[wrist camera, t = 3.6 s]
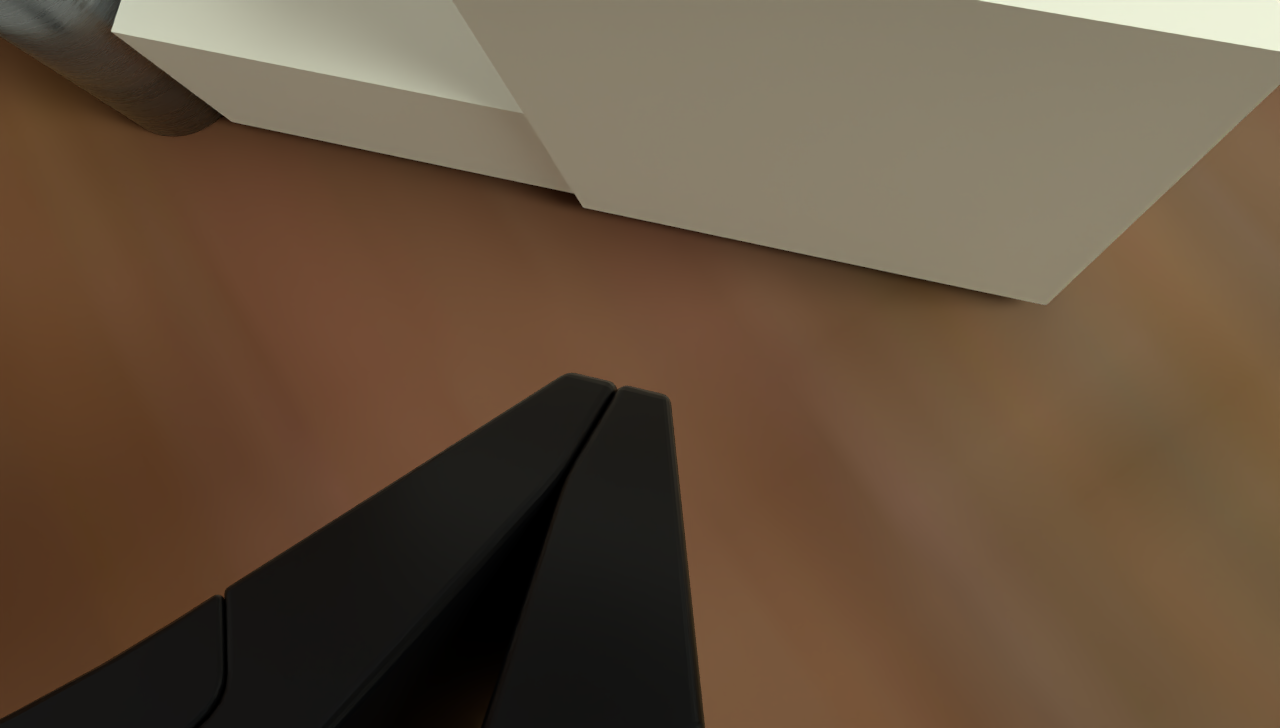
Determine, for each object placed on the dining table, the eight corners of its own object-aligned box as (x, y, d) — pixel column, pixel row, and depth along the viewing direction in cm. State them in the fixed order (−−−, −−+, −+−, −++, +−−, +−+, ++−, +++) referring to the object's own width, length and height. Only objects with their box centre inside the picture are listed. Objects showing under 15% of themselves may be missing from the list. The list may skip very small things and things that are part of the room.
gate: (228, 132, 20) (-240, -206, 11) (260, 26, 20) (-170, -391, 11) (1045, 305, 18) (1309, 55, 9) (1071, 182, 18) (1353, -185, 9)
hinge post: (153, 160, 20) (-77, 24, 15) (97, 55, 21) (-144, -113, 16) (265, 90, 20) (75, -73, 15) (207, -14, 21) (3, -207, 15)
